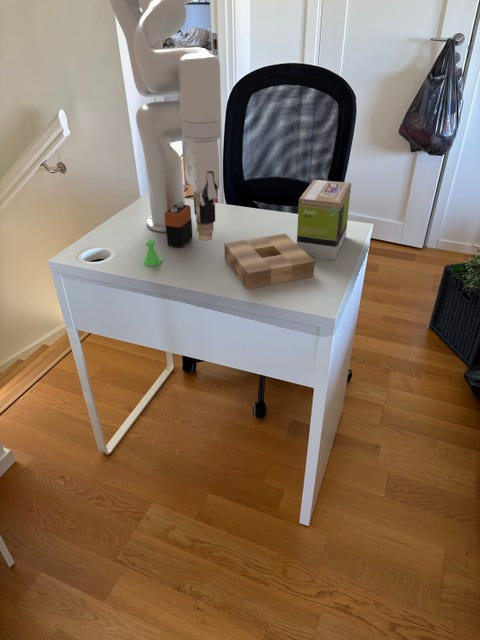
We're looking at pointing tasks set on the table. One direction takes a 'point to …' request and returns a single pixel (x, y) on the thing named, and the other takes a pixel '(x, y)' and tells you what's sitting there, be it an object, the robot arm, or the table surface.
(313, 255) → the tea box
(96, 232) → the table surface
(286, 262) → the board
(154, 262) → the game piece
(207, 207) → the robot arm
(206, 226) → the peg
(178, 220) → the battery
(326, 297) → the table surface
